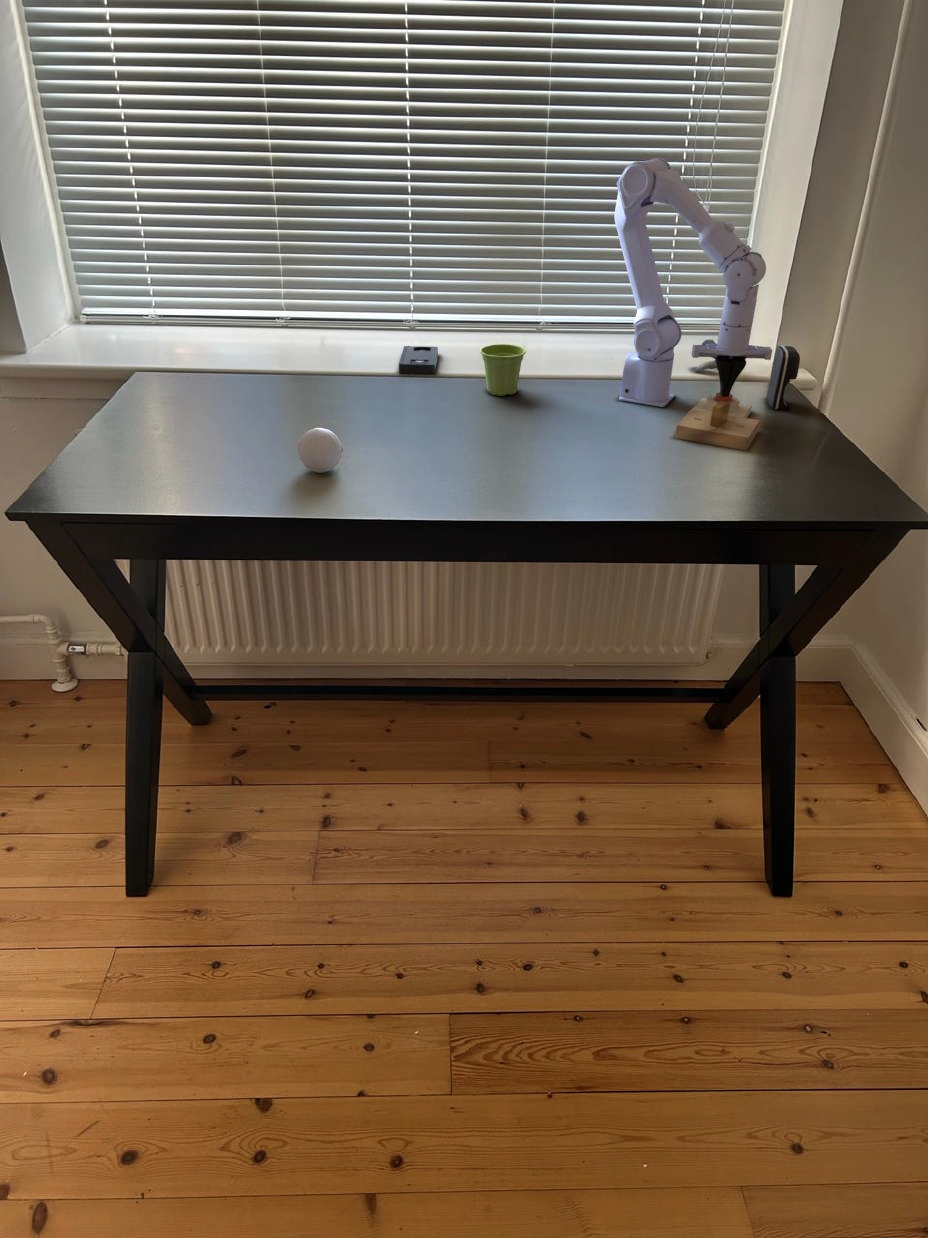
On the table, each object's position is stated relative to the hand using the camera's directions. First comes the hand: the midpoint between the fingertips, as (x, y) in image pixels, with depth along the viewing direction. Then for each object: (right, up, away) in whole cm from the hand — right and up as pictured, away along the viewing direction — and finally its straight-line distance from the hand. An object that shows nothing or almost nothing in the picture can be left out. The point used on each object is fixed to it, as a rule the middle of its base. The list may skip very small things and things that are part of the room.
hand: (724, 394), depth 172 cm
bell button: (0, -1, +1) cm, 2 cm away
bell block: (0, -3, +2) cm, 4 cm away
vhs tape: (-61, +14, +29) cm, 69 cm away
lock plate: (-4, -10, -8) cm, 13 cm away
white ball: (-75, -18, -22) cm, 80 cm away
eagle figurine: (+5, +11, +26) cm, 28 cm away
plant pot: (-43, +4, +13) cm, 45 cm away
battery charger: (+13, 0, +7) cm, 15 cm away
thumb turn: (-4, -7, -9) cm, 12 cm away
